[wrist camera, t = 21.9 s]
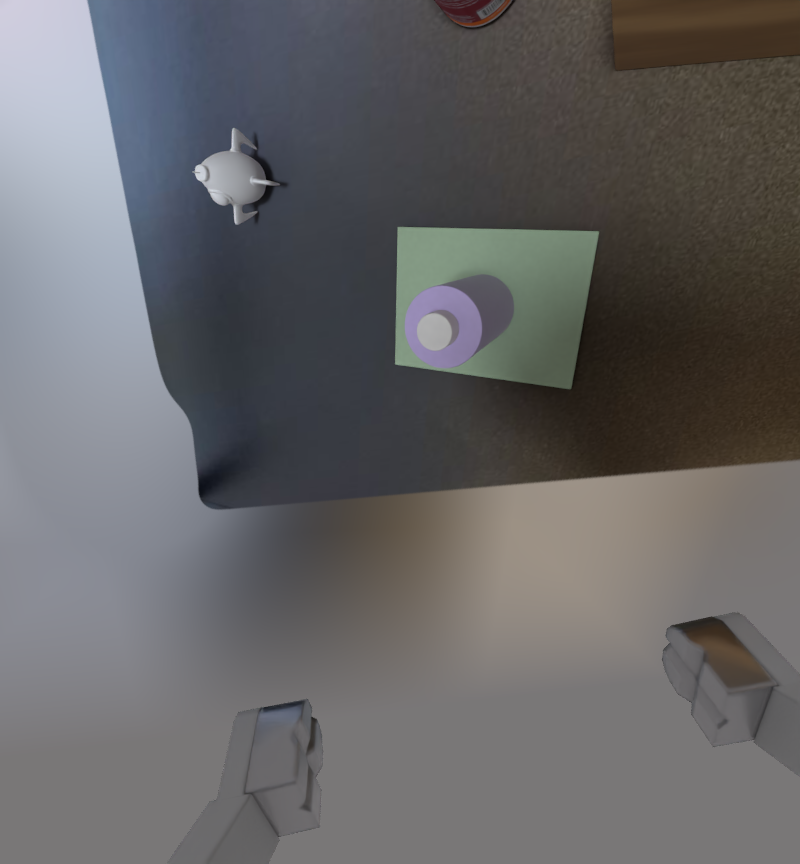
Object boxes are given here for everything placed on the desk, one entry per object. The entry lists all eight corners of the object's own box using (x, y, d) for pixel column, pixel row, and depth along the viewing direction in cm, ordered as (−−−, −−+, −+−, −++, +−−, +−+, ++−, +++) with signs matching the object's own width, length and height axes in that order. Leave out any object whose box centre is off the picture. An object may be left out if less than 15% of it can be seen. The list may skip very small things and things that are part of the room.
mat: (599, 231, 34) (599, 231, 33) (571, 387, 39) (570, 389, 38) (400, 226, 40) (397, 226, 39) (397, 363, 44) (395, 364, 44)
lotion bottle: (525, 289, 37) (489, 309, 27) (497, 350, 39) (456, 388, 30) (465, 264, 38) (410, 273, 28) (442, 325, 41) (384, 352, 31)
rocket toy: (259, 225, 45) (196, 224, 39) (227, 176, 45) (157, 167, 38) (292, 186, 42) (230, 177, 36) (258, 133, 42) (188, 115, 35)
